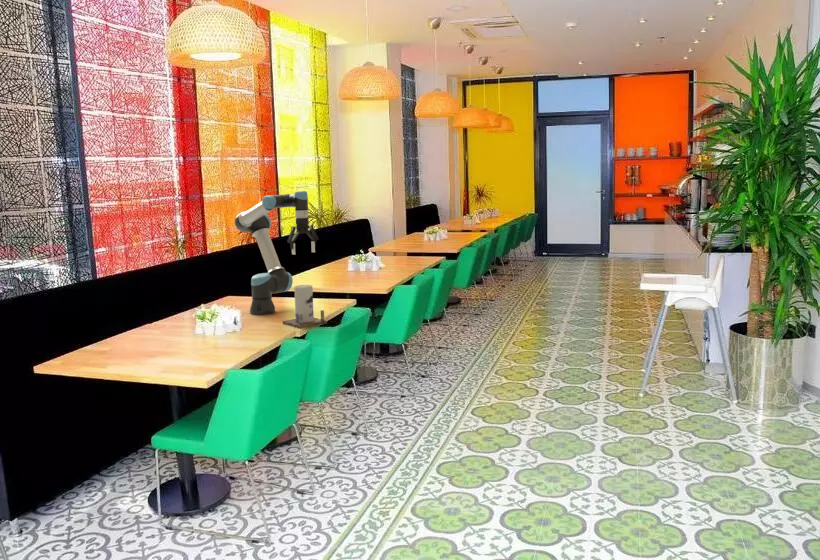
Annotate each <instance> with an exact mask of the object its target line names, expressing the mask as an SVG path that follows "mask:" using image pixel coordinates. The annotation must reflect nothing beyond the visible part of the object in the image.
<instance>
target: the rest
mask: <svg viewBox="0 0 820 560" xmlns="http://www.w3.org/2000/svg"><path fill="white" fill-rule="evenodd" d="M299 320H300V322H296V318H293V319H286V320H282V324H283V325H286V326H289V325H290V327H292V326H293V328H296V327H297V329H306V328H311V327H317V326H321V325H327V324H328V320H326V319H325V310H320V318H317V317H314V321H312V322H305V323H303V314H299Z"/></svg>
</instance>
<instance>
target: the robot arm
mask: <svg viewBox="0 0 820 560" xmlns="http://www.w3.org/2000/svg"><path fill="white" fill-rule="evenodd" d="M279 208H280V209H282V208H294V209H295V210H294V211H295V213H294V214H295V225H296V226H294V225H293V226H291V227H290V228H291V230H290V233H289V235H288V237H287V241H286V242H287V243H288V244H290V245H289V246H290V249H291V255H295V256H296V243H295V241H296V240H297V239H298V237H299V235H301V234H307V236H308V237H309V238H310V239H311V240H310V242H311V243H310V244H311V248H310V249H311V253H316V247H317V244H316V243H317V241H319V236H318V234H317V232H316V230H315V227H314V225H313V224H309V221H310V220H309V197H308V191H307V190H296V191H294V193H286V194H271V195H270V194H269V195H268V194H267V195H265V196H263V197H262V201H260V202H259V203H257V204H255V205H254V206H253V207H251V208H250V209H248V210H246V211H241V212H240V213H238V214H237V215H236V216H235V218H234V225H235V227H236V229H237V230H238V231H240V232H242V233H251V236H252V237H253V238H255V240H256V243H257V245H258V248H259V250H260V253H261V257H262V259H263V261H264V264H265V267H266V270H267V272H262V273H257V274H255V275H253V276H252V277H251V280H250V286H251V299H252V300H251V303H250V308H249V313H250V314H251V315H259V316H260V315H270V314H275V313H276V307H275V304H274V302H273V297H272V294H278V293H285V292H287V291H290V290H291V288H292V285H293V275H292V274H291V273H290V272H288V271H286V269H285V268H284V267H283V266H282V265H281V263H280V260H279V256H278V254H277V252H276V249H275V246H274V244H273V241H272V239H271V236H270V231H271V229H270V228H272V224H271V223H272V221H271V218H270V216H269V215H268V214H269V213H270V212H271V211H274V209H279Z"/></svg>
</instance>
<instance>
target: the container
mask: <svg viewBox="0 0 820 560" xmlns="http://www.w3.org/2000/svg"><path fill="white" fill-rule="evenodd" d="M293 289H294V307H295V308H294V309H295V319H296V322H300V320H299V314H303V323H305V322H312V321H314V318H315V316H314V315H315V314H314V293H313V291H314V290H313V285H311V284H298V285H295V286H294V288H293Z"/></svg>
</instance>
